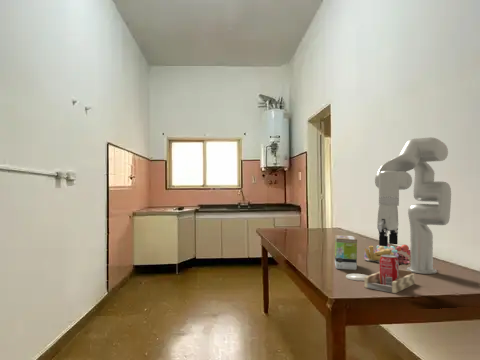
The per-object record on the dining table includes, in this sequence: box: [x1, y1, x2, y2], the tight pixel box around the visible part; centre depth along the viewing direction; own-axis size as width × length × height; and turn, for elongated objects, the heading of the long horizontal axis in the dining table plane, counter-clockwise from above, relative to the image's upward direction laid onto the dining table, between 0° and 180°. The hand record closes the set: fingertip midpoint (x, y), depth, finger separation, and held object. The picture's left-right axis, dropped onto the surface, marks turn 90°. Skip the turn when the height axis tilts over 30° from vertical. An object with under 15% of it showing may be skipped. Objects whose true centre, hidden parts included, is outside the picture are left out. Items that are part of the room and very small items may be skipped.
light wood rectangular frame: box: [364, 268, 416, 294], centre depth 153 cm, size 20×12×5 cm, turn 137°
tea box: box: [334, 234, 358, 271], centre depth 191 cm, size 15×10×15 cm, turn 168°
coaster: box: [345, 273, 369, 282], centre depth 166 cm, size 10×10×1 cm
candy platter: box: [363, 244, 410, 265], centre depth 208 cm, size 25×24×9 cm
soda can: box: [379, 254, 400, 286], centre depth 153 cm, size 7×7×12 cm
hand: (388, 245), depth 153 cm, fingers open, 9 cm apart
